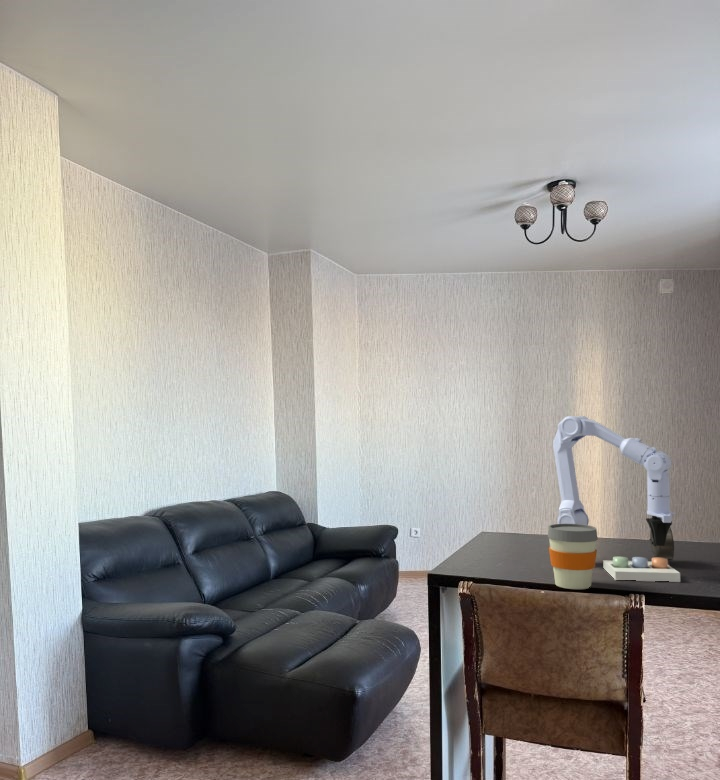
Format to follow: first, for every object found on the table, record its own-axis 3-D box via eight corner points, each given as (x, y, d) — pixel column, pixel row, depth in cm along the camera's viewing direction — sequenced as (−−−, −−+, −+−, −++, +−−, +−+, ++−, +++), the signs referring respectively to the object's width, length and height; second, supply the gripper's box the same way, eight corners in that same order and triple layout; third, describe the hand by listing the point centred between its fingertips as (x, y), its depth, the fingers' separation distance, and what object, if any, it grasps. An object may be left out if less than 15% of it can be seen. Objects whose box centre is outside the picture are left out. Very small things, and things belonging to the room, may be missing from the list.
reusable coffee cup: (541, 579, 185) (540, 523, 185) (586, 578, 185) (586, 523, 186) (558, 591, 172) (557, 531, 173) (606, 590, 173) (605, 531, 173)
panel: (615, 580, 183) (615, 571, 183) (603, 568, 197) (603, 560, 197) (680, 582, 181) (680, 573, 181) (663, 570, 195) (663, 561, 195)
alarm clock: (675, 567, 198) (674, 511, 198) (655, 567, 199) (654, 511, 200) (666, 560, 209) (665, 506, 209) (647, 559, 210) (647, 506, 210)
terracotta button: (654, 571, 187) (654, 560, 187) (649, 567, 191) (649, 557, 191) (669, 571, 186) (669, 560, 186) (664, 568, 190) (664, 557, 190)
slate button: (634, 570, 187) (634, 559, 188) (630, 567, 191) (630, 556, 192) (649, 571, 187) (649, 560, 187) (645, 567, 191) (645, 557, 191)
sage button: (615, 570, 188) (614, 559, 188) (611, 567, 192) (611, 556, 192) (630, 570, 188) (629, 559, 188) (626, 567, 192) (626, 556, 192)
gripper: (682, 499, 182) (683, 550, 181) (665, 492, 196) (665, 540, 196) (655, 498, 182) (655, 549, 182) (639, 492, 197) (640, 539, 196)
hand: (659, 545), depth 189 cm, fingers closed
